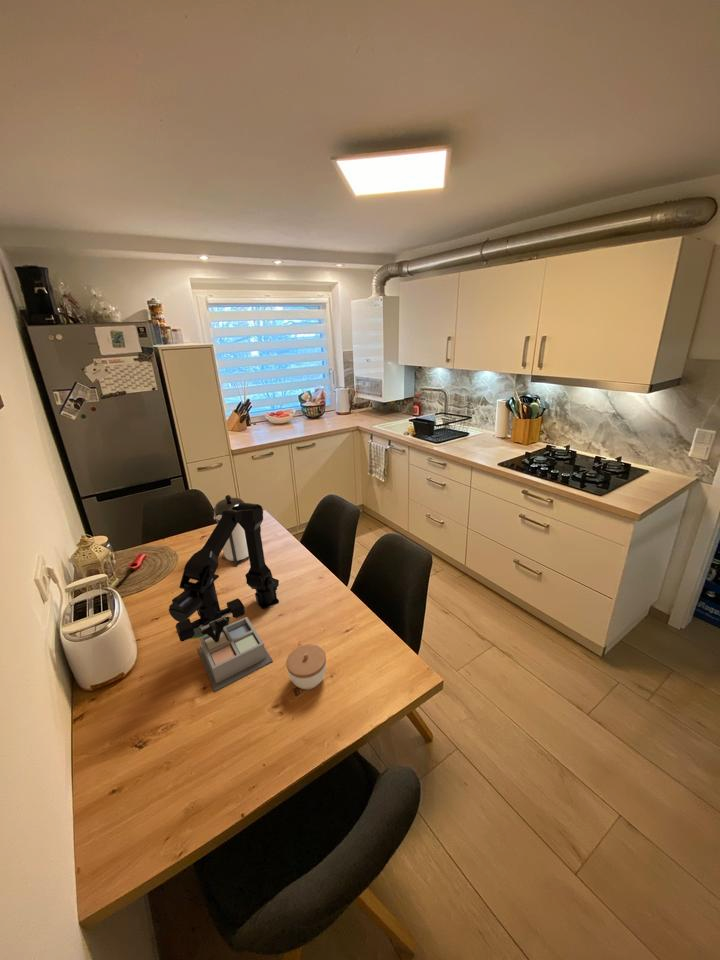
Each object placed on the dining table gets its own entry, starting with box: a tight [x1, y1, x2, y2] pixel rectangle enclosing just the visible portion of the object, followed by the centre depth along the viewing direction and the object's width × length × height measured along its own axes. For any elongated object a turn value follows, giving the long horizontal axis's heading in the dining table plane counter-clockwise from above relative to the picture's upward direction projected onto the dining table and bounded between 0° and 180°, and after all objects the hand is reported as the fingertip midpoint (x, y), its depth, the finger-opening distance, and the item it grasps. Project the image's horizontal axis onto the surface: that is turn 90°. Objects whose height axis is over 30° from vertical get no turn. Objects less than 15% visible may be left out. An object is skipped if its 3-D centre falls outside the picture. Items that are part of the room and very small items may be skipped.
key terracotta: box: [211, 645, 235, 665], centre depth 111 cm, size 6×6×3 cm
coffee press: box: [213, 494, 262, 567], centre depth 166 cm, size 17×16×30 cm
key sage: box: [235, 635, 258, 653], centre depth 114 cm, size 6×6×3 cm
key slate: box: [229, 625, 249, 639], centre depth 120 cm, size 6×6×3 cm
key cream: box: [205, 632, 228, 650], centre depth 116 cm, size 6×6×3 cm
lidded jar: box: [285, 643, 327, 691], centre depth 105 cm, size 11×11×9 cm
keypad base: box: [197, 616, 273, 692], centre depth 115 cm, size 17×19×6 cm
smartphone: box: [191, 616, 231, 639], centre depth 128 cm, size 8×1×15 cm
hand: (216, 641), depth 116 cm, fingers closed, pressing on key cream
